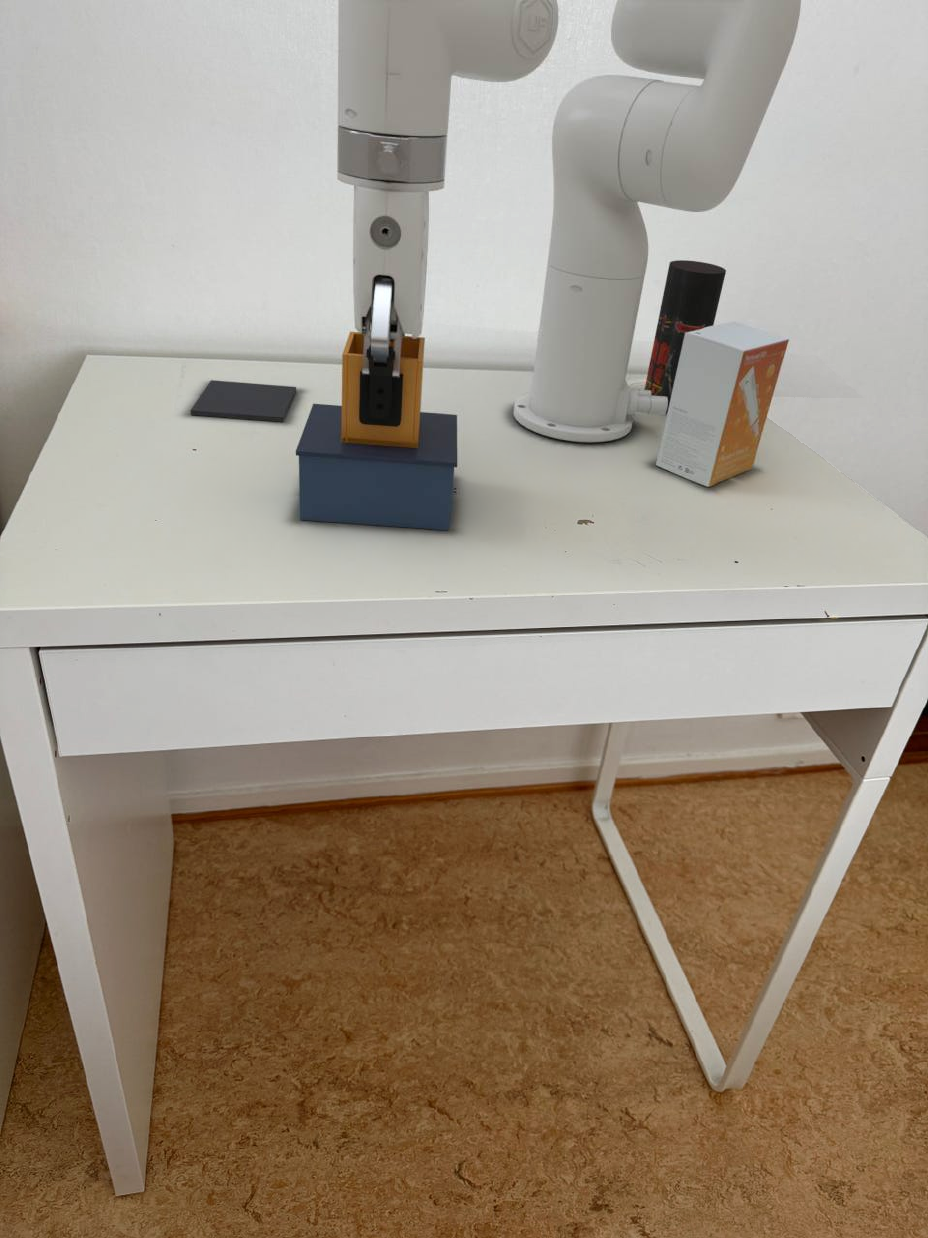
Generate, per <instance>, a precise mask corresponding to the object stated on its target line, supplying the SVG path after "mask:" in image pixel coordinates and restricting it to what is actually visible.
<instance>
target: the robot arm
mask: <svg viewBox="0 0 928 1238" xmlns="http://www.w3.org/2000/svg"><path fill="white" fill-rule="evenodd" d="M801 5H802V0H616V3H615V6H614V11H613V14H612V20H611V26H610V41H611V46H612V48H613V50H614V53H615V55H616V56H617V57H618V58H619V59H620V60H621V62H623V63H624V64H625V65H627V66H629V67H632V69H633V68H634V69H636V70H640V71H644V72H648V73H653V74H658V75H665V76H671V77H672V76H673V77H681V78H689V79H698V80H703V81H702V83H701V84H700V85H694V84H687V83H679V82H672V81H671V82H670V81H664V80H661V79H655V78H645V77H639V76H631V75H621V74H604V75H603V74H602V75H596V76H592V77H589V78H587V79H584V80H582V81H580V82H578V83H576V84H575V85H574V86H573V87H572V88H571V89H569V91H568V92H567V93H566V94H565V95H564V97H563V98H562V100H561V102H560V103H559V105H558V108H557V110H556V113H555V116H554V120H553V126H552V135H551V156H552V157H551V159H552V174H553V176H552V177H553V202H552V203H553V205H552V218H551V219H552V220H551V230H550V238H549V247H548V256H547V265H546V271H545V279H544V286H543V287H544V288H543V293H542V294H543V295H542V303H541V309H540V318H539V326H538V333H537V341H536V350H535V358H534V365H533V373H532V380H531V381H532V382H531V387H530V392H529V393H527V394H523V395H521V396H519V397H518V398H517V399H516V400H515V401H514V405H513V417H514V418H515V420H516V421H517V422H518V424H520V425H521V426H523V427H524V428H526V429H528V430H530V431H532V432H533V433H537V434H540V435H542V436H545V437H548V438H553V439H555V440H556V439H557V440H561V441H567V442H577V443H604V442H612V441H615V440H619V439H621V438H624V437H626V435H628V434H629V433H630V432H631V430H632V428H633V421H634V418H633V417H634V416H635V415H636V414H637V413H643V414H647V415H655V416H665V415H667V412H666V411H667V406H668V398H667V397H664V396H652V395H651V391H650V390H644V389H631V388H630V386H629V384H628V382H627V380H626V378H627V373H628V367H629V363H630V357H631V352H632V347H633V340H634V335H635V330H636V324H637V320H638V313H639V309H640V303H641V298H642V294H643V293H642V292H643V287H644V281H645V276H646V271H647V267H648V266H647V265H648V260H649V238H648V232H647V228H646V224H645V220H644V218H643V214H642V211H641V209H640V205H639V203H643V204H647V205H653V206H658V207H663V208H667V209H672V210H676V211H677V210H679V211H683V212H690V213H702V212H704V213H705V212H707V211H711V210H713V209H715V208H716V207H718V206H719V205H720V204H722V203H723V202H724V201H725V200H726V199H727V197H728V196H729V195H730V193H731V192H732V190H733V189H734V187H735V185H736V183H737V181H738V179H739V178H740V175H741V173H742V172H743V169H744V167H745V164H746V162H747V159H748V157H749V155H750V153H751V150H752V147H753V145H754V142H755V140H756V138H757V135H758V132H759V130H760V127H761V126H762V123H763V120H764V118H765V115H766V113H767V110H768V108H769V106H770V104H771V102H772V99H773V96H774V94H775V91H776V88H777V87H778V84H779V81H780V79H781V77H782V74H783V72H784V70H785V67H786V65H787V62H788V59H789V56H790V53H791V51H792V47H793V44H794V42H795V37H796V35H797V30H798V25H799V22H800V17H801V16H800V15H801ZM337 21H338V24H337V25H338V26H337V27H338V29H337V31H338V33H337V35H338V36H337V37H338V38H337V47H338V48H337V54H338V55H337V160H336V161H337V165H336V166H337V170H336V173H337V174H336V176H337V177H336V178H337V181H340V182H341V183H344V184H347V185H351V186H353V215H352V216H353V218H352V220H353V221H352V281H353V282H352V286H353V287H352V289H353V291H352V292H353V316H354V317H353V319H354V320H353V321H354V328H355V330H356V332H359V333H361V334H363V333H364V348H363V369H362V371H360V398H359V421H360V423H362V424H366V425H379V426H393V427H397V426H399V425H400V424H401V412H402V391H403V374H400V361H401V344H402V336H406V335H411V337H412V339H416V338H417V337H420V336H421V335H422V332H423V326H424V325H423V324H424V313H425V303H426V302H425V300H426V286H427V284H426V283H427V270H428V269H427V268H428V250H429V234H430V232H429V231H430V192H435V191H439V190H443V189H444V188H445V178H446V165H447V163H446V162H447V150H448V149H447V148H448V133H449V119H450V105H451V89H452V76H454V77H457V78H461V79H467V80H473V81H481V82H489V83H509V82H515V81H518V80H520V79H523V78H525V77H527V76H529V75H530V74H532V73H533V72H534V71H536V69H538V68H539V67H541V65H542V64H543V63H544V61H545V60H546V58H547V57H548V56H549V54H550V52H551V50H552V48H553V45H554V43H555V41H556V37H557V33H558V28H559V5H558V0H338V19H337ZM389 341H390V342H394V351H393V347H390V346H389Z"/></svg>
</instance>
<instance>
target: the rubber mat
mask: <svg viewBox="0 0 928 1238" xmlns="http://www.w3.org/2000/svg"><path fill="white" fill-rule="evenodd" d="M296 393H297V386H290V385H288V386H287V385H275V384H262V383H251V382H239V381H238V382H237V381H227V380H214V379H213V380H210V381H209V382H208V384H206V387H205V388H204V390H203V391H202V393H200V396H199V397H198V399H197V400H196V402H195V403H194V404H193V405H192V408H191V409H190V415H191V416H201V417H214V418H215V417H216V418H227V419H239V420H252V421H255V420H256V421H264V422H265V421H266V422H276V423H277V422H278V423H283V422H284V421H285V419H286V417H287V414H288V411H289V409H290V407H291V404H292V402H293V400H294V397H295V395H296Z"/></svg>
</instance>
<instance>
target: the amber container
mask: <svg viewBox="0 0 928 1238" xmlns="http://www.w3.org/2000/svg"><path fill="white" fill-rule="evenodd" d="M346 339H347V340H346V342H345V345H344V349H343V352H342V356H341V406H342V433H341V442H343V443H356V444H370V445H383V446H396V447H410V448H418V438H419V426H420V412H422V411H421V410H422V393H423V379H424V378H423V377H424V363H425V361H424V360H425V346H426V345H425V344H426V337H423V336H421V337H420V336H418V337H417V338H416V339H412V335H411V336H410V335H405V336H402V344H401V361H400V374H403V391H402V412H401V424H400V425H399V426H397V427H393V426H379V425H366V424H362V423H360V421H359V398H360V371H362V369H363V348H364V333H363V334H361V333H359V332H358V331H349V334H348V336H347V338H346ZM389 346H390V347H393V351H394V342H390V341H389Z"/></svg>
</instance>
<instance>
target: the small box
mask: <svg viewBox="0 0 928 1238" xmlns="http://www.w3.org/2000/svg"><path fill="white" fill-rule="evenodd" d="M789 341H790V338H788V337H784V336H781V335H778V334H774V333H771V332H768V331H765V330H762V329H760V328H755V327H752V326H749V325H746V324H743V323H739V322H737V321H730V322H726V323H721V324H714V325H713V326H709V327H705V328H703V329H700V330H695V331H691V332H686V333H685V336H684V340H683V345H682V349H681V354H680V358H679V363H678V367H677V372H676V376H675V381H674V385H673V390H672V394H671V399H670V404H669V408H668V412H666V418H665V423H664V426H663V431H662V436H661V440H660V445H659V449H658V453H657V458H656V462H655V465H656V466H658V467H659V468H661V469H664V470H666V471H668V472H671V473H673V474H675V475H677V476H680V477H682V478H685V479H687V480H690V481H691V482H694V483H697V484H699V485H702V486H704V487H707V488H710V487H712V486H714V485H716V484H718V483H720V482H723V481H725V480H727V479H730V478H733V477H735V476H737V475H739V474H742V473H745V472H747V471H750V470H752V469H753V467H754V462H755V460H756V455H757V452H758V450H759V449H758V448H759V445H760V442H761V438H762V435H763V431H764V428H765V423H766V422H767V416H768V414H769V411H770V407H771V403H772V401H773V397H774V393H775V389H776V386H777V382H778V379H779V376H780V373H781V369H782V366H783V362H784V358H785V354H786V352H787V348H788V344H789Z"/></svg>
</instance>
